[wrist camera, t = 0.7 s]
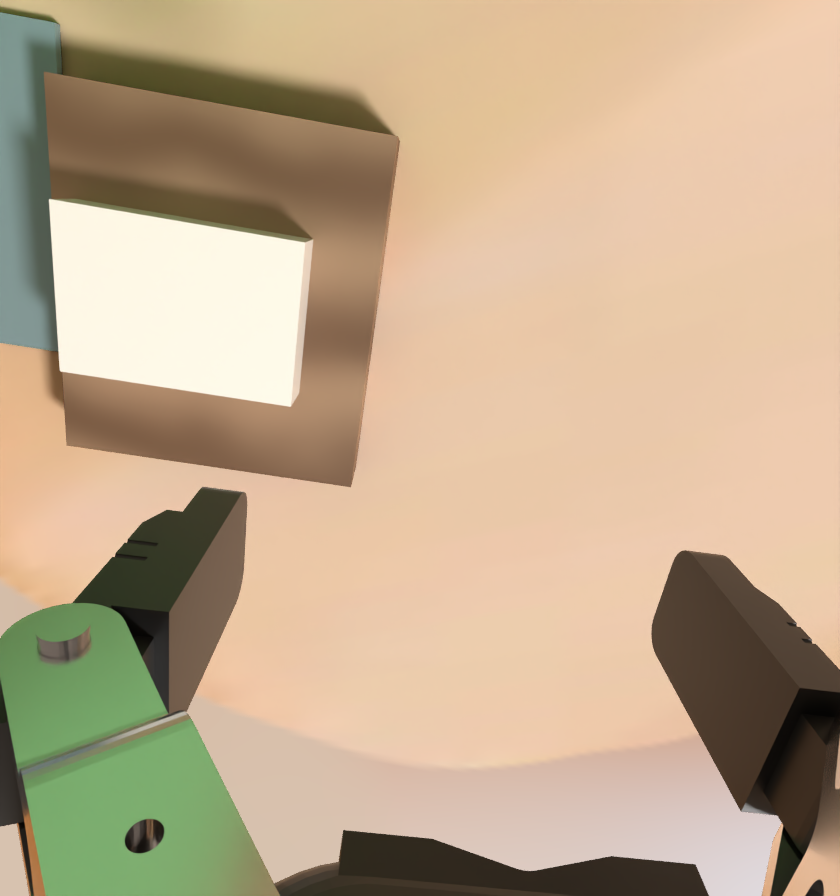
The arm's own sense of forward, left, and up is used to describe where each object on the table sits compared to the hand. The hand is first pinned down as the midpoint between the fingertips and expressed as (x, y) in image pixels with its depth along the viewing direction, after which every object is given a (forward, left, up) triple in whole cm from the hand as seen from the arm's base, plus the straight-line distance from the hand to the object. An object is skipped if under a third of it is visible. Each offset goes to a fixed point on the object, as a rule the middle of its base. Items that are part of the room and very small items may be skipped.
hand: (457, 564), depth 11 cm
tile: (0, -11, -18) cm, 21 cm away
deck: (0, -10, -21) cm, 23 cm away
